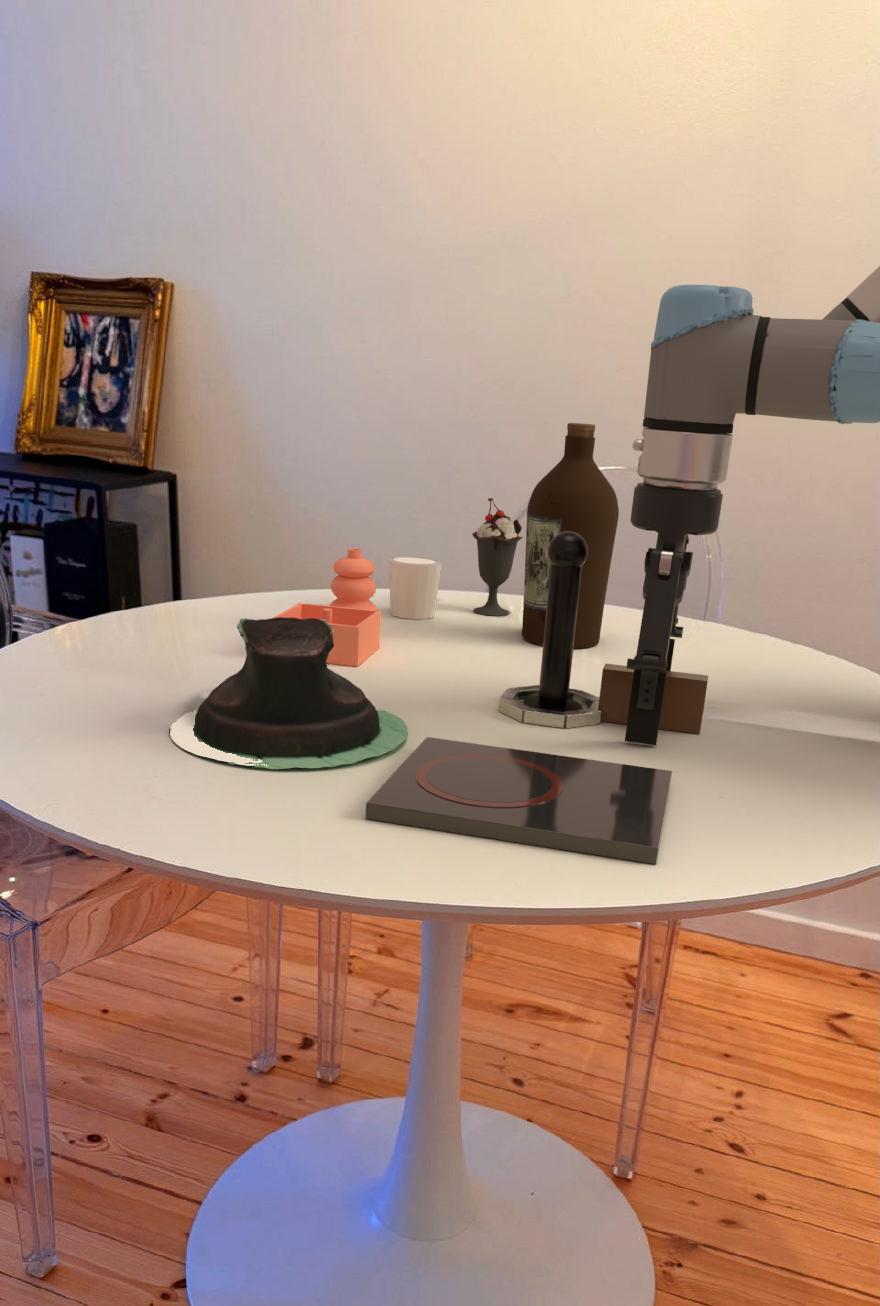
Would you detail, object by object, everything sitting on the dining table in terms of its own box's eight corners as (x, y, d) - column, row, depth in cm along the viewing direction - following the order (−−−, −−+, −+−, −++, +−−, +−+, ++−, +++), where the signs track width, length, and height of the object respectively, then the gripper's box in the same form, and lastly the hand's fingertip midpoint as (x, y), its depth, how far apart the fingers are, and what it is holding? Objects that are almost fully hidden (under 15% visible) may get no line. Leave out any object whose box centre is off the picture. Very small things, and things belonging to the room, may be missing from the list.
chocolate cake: (142, 693, 97) (350, 684, 106) (187, 858, 86) (414, 833, 95) (161, 558, 86) (390, 561, 95) (214, 727, 76) (466, 713, 85)
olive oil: (572, 628, 138) (593, 422, 130) (621, 647, 130) (647, 428, 121) (500, 632, 134) (517, 418, 125) (546, 652, 125) (567, 424, 116)
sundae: (463, 614, 142) (471, 497, 137) (470, 605, 149) (479, 492, 143) (512, 619, 141) (523, 501, 136) (518, 609, 148) (528, 496, 142)
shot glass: (416, 622, 136) (419, 566, 134) (375, 613, 140) (377, 558, 137) (449, 615, 141) (452, 561, 139) (408, 606, 145) (411, 554, 143)
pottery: (357, 666, 114) (360, 572, 110) (271, 656, 115) (272, 564, 112) (398, 631, 130) (401, 549, 127) (322, 623, 132) (324, 542, 129)
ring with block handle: (701, 716, 104) (709, 666, 102) (698, 746, 95) (706, 691, 93) (511, 692, 108) (515, 643, 106) (491, 718, 99) (495, 665, 97)
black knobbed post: (584, 707, 104) (604, 530, 99) (577, 723, 99) (597, 537, 93) (527, 700, 106) (543, 524, 100) (517, 715, 101) (533, 531, 95)
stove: (670, 785, 85) (672, 769, 85) (656, 864, 71) (658, 846, 70) (425, 750, 90) (426, 735, 89) (365, 818, 75) (365, 801, 75)
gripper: (646, 470, 105) (619, 684, 113) (621, 490, 83) (589, 755, 90) (725, 477, 103) (692, 693, 111) (722, 499, 81) (681, 768, 88)
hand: (646, 721), depth 101 cm, fingers open, 12 cm apart
